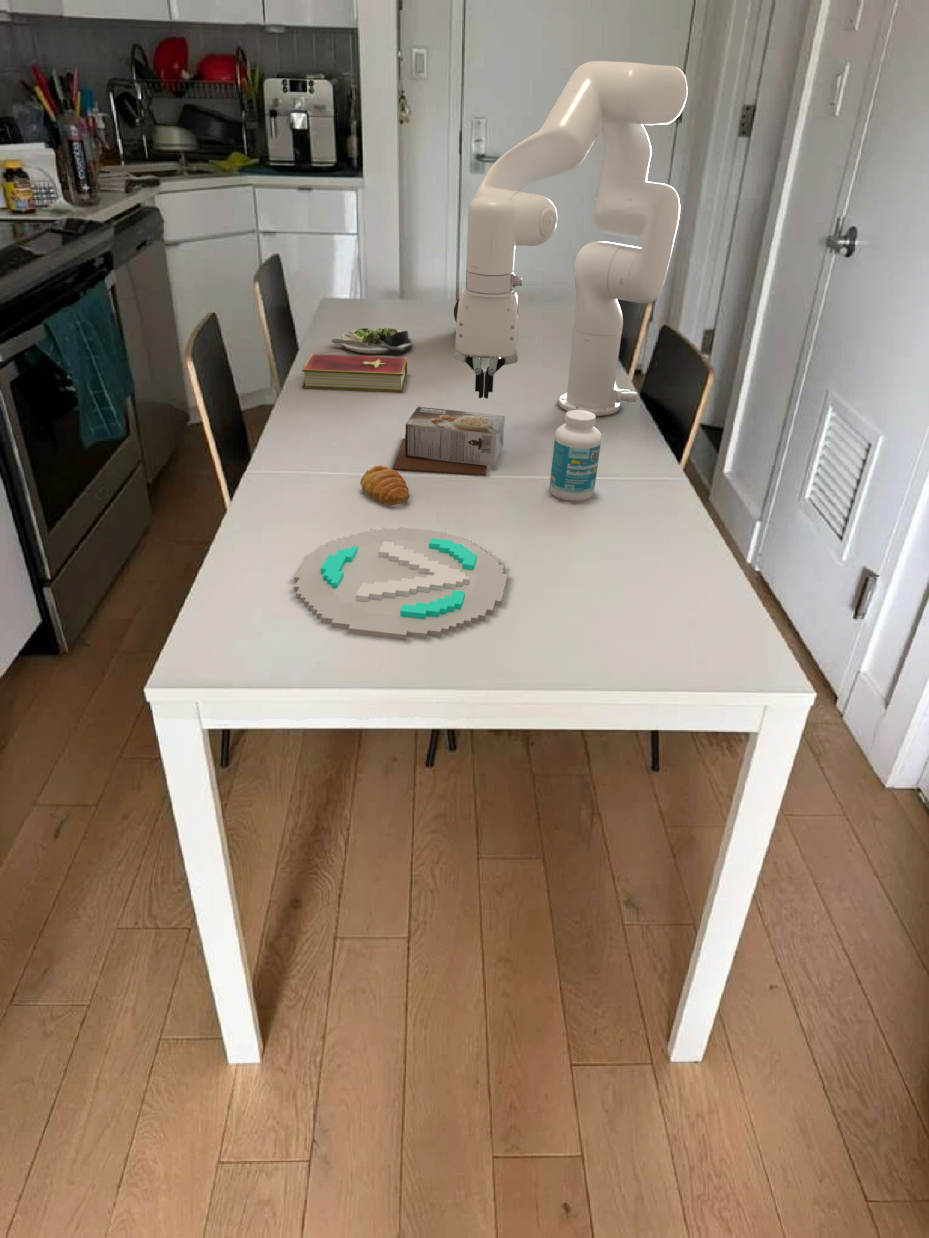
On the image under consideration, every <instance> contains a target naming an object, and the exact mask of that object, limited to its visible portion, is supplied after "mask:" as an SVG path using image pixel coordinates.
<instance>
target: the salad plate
mask: <svg viewBox="0 0 929 1238" xmlns="http://www.w3.org/2000/svg"><path fill="white" fill-rule="evenodd" d="M330 343H333V344H336V345H339V346H342V347H344V348H345V349H346V350H349V351H351V352H355V353H358V354H362V355H363V354H364V355H401V354H405V353H408V352H409V351H410V350H411V349H412V346H413V341H412V339H411V336H410V335H409V331H408V330H403V331H402V330H398V329H396V328H392V327H383V328H382V327H379V328H377V329H376V330H372V329H371V328H368V327H364V328H363V327H358V328H356V330H350V331H347V332H344V333H343V334H342V335H341V339H339V338H332V339H331V340H330Z"/></svg>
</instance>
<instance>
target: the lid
mask: <svg viewBox="0 0 929 1238" xmlns="http://www.w3.org/2000/svg"><path fill="white" fill-rule="evenodd" d="M504 572H505V564H501V558H496V555H494V554H493V555H492V554H491V552H490V551H487V549H486V548H482V545H477V542H473V539H467V538H463V536H462V535H454V534H448V532H447V531H441V530H432V529H431V530H430V529H422V528H414V527H413V528H412V527H402V526H399V527H398V528H389V527H382V528H381V529H377V528H375V529H374V528H370V529H369V530H364V531H362V532H356V534H349V536H345V535H344V536H343V537H342V538H339V537H337V538H336V539H335V540H332V539H330V540H329V541H328V543H327V544H320V546H319V547H318V549H317V550H316V552H314V551H310V552H309V554H308V555H307V556H306V558H305V560H304V561H303V563H302V564H301V566H300V567H299V569H298V570H297V572H296V573H295V575H294V576H293V580H294V583H295V584H294V586H293V589H294V593H295V598H296V600H299V601H300V603H301V604H303V605H304V607H305V608H306V607H307V609H308V612H309V611H311V612H312V615H314V616H316V619H317V620H318V619H319V620H320V623H321V624H330V625H331V628H332V629H340V630H348V634H352V635H358V636H367V637H374V638H375V637H376V638H383V639H392V640H398V641H399V640H400V641H407V639H408V638H414V639H422V640H427V638H428V636H429V637H436V638H441V636H442V635H449V632H457V629H459V630H463V629H464V627H471V624H478V622H479V621H481V622H485V620H486V617H487V615H489V616H493V614H494V610H495V607H502V604H503V601H504V596H505V592H506V588H507V584H508V579H509V574H508V573H504Z"/></svg>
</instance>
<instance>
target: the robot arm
mask: <svg viewBox="0 0 929 1238" xmlns="http://www.w3.org/2000/svg"><path fill="white" fill-rule="evenodd" d="M687 81H688V80H687V77H686V75H685V74H684V71H682V70H681V68H679V67H677V66H675V65H661V64H650V63H649V64H648V63H640V62H630V61H611V60H608V61H607V60H591V61H587V62H584V63H582V64H580V65H579V66H578V67H577V68H576V69H575V70H574V71H573V73H572V74H571V76H570V77H569V80H568V81H567V83H566V85H565V86H564V88H563V89H562V92H561V93H560V94H559V96H558V98H557V100H556V102H555V104H554V105H553V107H552V109H551V110H550V112H549V113H548V115H547V117H546V119H545V121H544V122H543V124H542V126H541V127H540V128H539V129H538V131H536V132H535V133H533V134H531V135H530V136H527V137H526V138H525V139H524V140H522V141H521V142H519V143H517V144H516V145H515V146H513V147H512V148H510V149H509V150H507V151H506V152H505V153H503V154H502V155H501V156H500V157H499V158H498V159H496V161H494V162H493V164H492V165H491V166H490V167H489V169H488V170H487V172H486V174H485V176H484V178H483V179H482V181H481V183H480V184H479V186H478V188H477V190H476V192H475V194H474V195H473V196H474V197H473V199H472V200H471V201H470V203H469V206H468V211H467V212H468V213H467V236H466V237H467V239H466V262H465V263H466V266H465V269H466V270H465V287H464V288H462V289H461V290H460V294H459V298H458V299H459V304H458V312H457V323H456V322H455V324H456V325H455V339H454V340H455V341H454V343H455V349H454V352H453V359H454V360H455V361H458V362H461V363H465V364H466V365H468V366H469V367H470V368H471V370H472V371H473V373H474V375H475V381H474V385H475V386H474V392H478V399H482V398H483V399H489V394H490V393H493V391H494V378H495V377H494V375H495V374H496V373H497V372H498V371H499V370H500V369H502V367H504V366H507V365H512V364H517V363H518V360H519V357H518V352H517V348H518V340H519V339H518V338H519V300H518V293H517V291H515V290H514V289H515V287H516V288H517V287H522V286H523V277H522V276H518V275H516V274H515V273H514V270H515V256H516V255H515V254H516V247H517V246H520V247H523V246H524V247H525V246H526V247H535V246H540V245H543V244H545V243H546V242H547V241H549V240H550V239H551V237H552V236H553V235H554V233H555V231H556V229H557V225H558V218H559V215H558V211H557V208H556V206H555V205H554V202H553V201H552V200H550V199H549V198H548V197H547V196H545V195H541V194H537V193H532V192H523V191H520V190H522V189H524V188H526V187H527V186H529V185H531V184H533V183H536V182H538V181H541V180H545V179H548V178H552V177H556V176H559V175H563V174H564V173H567V172H570V171H573V170H575V169H576V168H578V167H579V166H580V165H581V164H582V163H583V162H584V160H585V159H586V157H587V155H588V153H590V150H591V148H592V146H593V145H594V143H595V141H596V139H597V137H598V136H599V134H600V132H602V136H603V141H604V142H603V147H604V148H603V156H602V162H601V169H600V174H599V180H598V185H597V190H596V195H595V201H594V206H593V214H592V215H593V217H592V218H593V223H594V226H595V227H596V229H598V230H599V231H600V232H602V233H605V234H607V235H613V236H618V237H623V238H624V237H626V238H632V239H636V240H641V244H640V245H641V246H634V245H628V244H624V243H617V242H611V241H592V242H589V243H587V244H585V245H584V246H582V247H581V249H580V250H579V252H577V255H576V258H575V261H574V266H573V276H574V277H573V278H574V287H575V288H574V289H575V290H574V291H575V310H574V320H573V321H574V323H573V330H572V331H573V332H572V340H571V350H570V358H569V359H570V360H569V361H570V362H569V371H568V380H567V390H566V392H565V393H563V394H561V395H560V396H559V397H558V405H559V407H560V408H561V409H562V410H564V411H566V412H568V411H571V410H584V411H588V412H591V413H593V414H594V415H595V416H596V417H602V416H609V415H613V414H616V413H617V412H618V411H619V410H620V409H621V408H620V407H621V402H630V403H637V398H638V392H636V391H631V390H630V389H625V388H624V389H620V388H619V387H617V383H616V379H617V371H618V363H619V356H620V349H621V340H622V334H623V327H624V318H623V312H622V308H621V305H620V303H619V300H620V301H626V302H630V303H635V304H636V303H637V304H650V303H653V302H655V301H656V300H657V299H658V298H659V296H660V295H661V293H662V291H663V288H664V285H665V282H666V278H667V274H668V271H669V267H670V263H671V257H672V252H673V249H674V245H675V239H676V236H677V232H678V227H679V221H680V215H681V203H680V197H679V194H678V192H677V191H676V189H675V187H673V186H671V185H669V184H666V183H662V182H653V181H648V176H649V175H648V174H649V168H650V164H651V163H650V162H651V158H652V145H651V141H650V138H649V135H648V133H647V131H646V128H645V126H655V125H659V126H661V125H669V124H671V123H673V122H674V121H676V119H677V118H678V117H680V115H681V114H682V112H683V110H684V108H685V105H686V102H687V98H688V82H687ZM482 357H487V358H488V357H489V358H490V359H489V364H488V366H487V367H486V370H484V367H483V363H482Z"/></svg>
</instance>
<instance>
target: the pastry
mask: <svg viewBox="0 0 929 1238" xmlns="http://www.w3.org/2000/svg"><path fill="white" fill-rule="evenodd" d="M360 486H361V490H362V492H363V494H365V496H367V497H368V498H369V499H372V500H373V501H374V502H377V504H380V505H382V506H389V507H394V506H397V505H402V504H405V503H407V502H408V500H409V498H410V493H409V487H408V485H407V482H406V480H405V478H404V477H403V476H402V475H401V474H400V473H399V471H397V470H392V469H390V468H389V467H388V466H386V465H374V466H373V467H371V468H370V469H367V470H366V471H365V472H364V474H363V475H362V476H361V479H360Z"/></svg>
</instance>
